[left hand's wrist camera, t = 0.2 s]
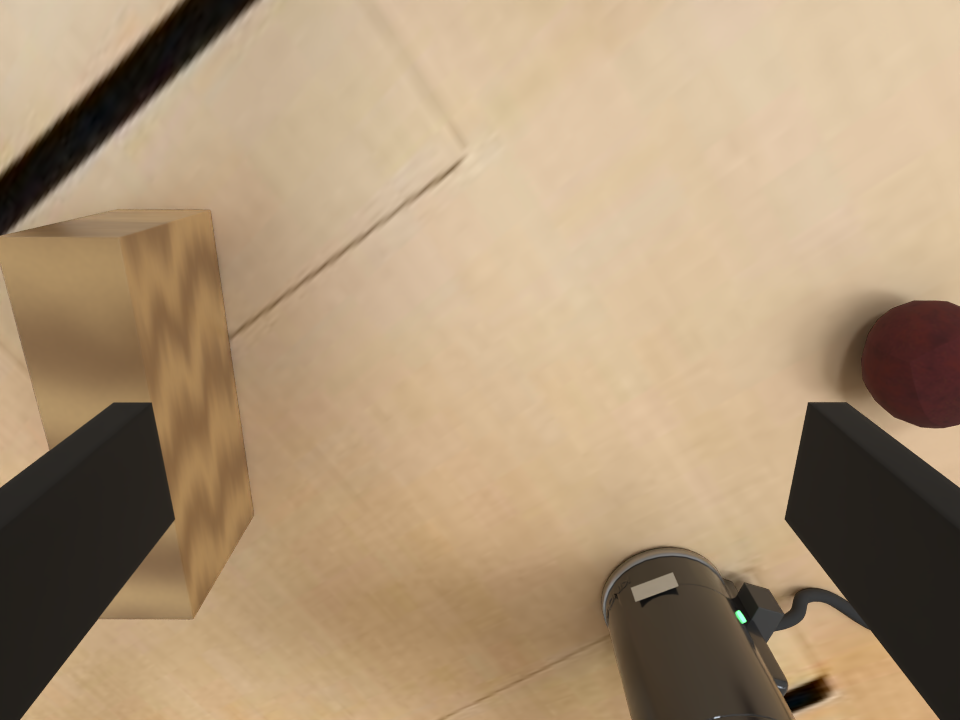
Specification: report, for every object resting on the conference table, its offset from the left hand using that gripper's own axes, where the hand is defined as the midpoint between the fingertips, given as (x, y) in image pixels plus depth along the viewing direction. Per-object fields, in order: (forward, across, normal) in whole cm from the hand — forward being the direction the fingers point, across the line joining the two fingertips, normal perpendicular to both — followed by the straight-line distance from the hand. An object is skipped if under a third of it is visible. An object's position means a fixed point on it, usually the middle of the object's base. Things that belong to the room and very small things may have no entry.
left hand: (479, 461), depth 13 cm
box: (+28, -19, -9) cm, 35 cm away
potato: (+28, +27, -7) cm, 40 cm away
